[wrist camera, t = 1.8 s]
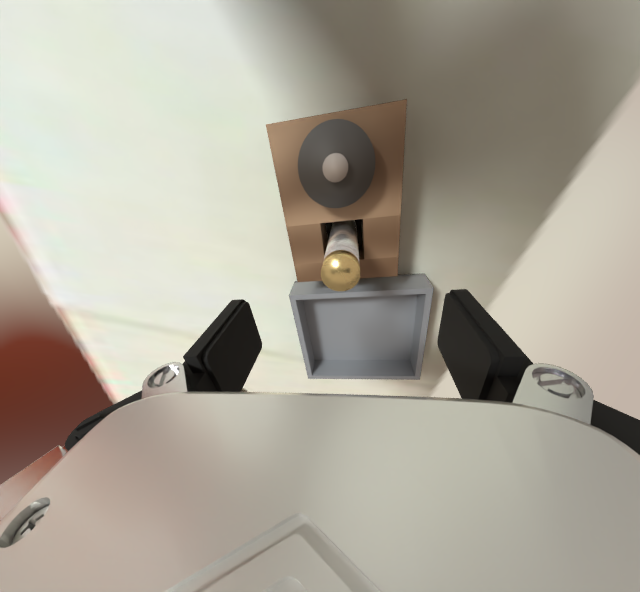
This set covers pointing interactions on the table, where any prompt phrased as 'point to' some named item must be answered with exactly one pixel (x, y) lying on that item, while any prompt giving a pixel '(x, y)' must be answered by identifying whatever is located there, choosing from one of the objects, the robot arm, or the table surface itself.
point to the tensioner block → (342, 183)
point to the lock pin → (341, 257)
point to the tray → (363, 327)
